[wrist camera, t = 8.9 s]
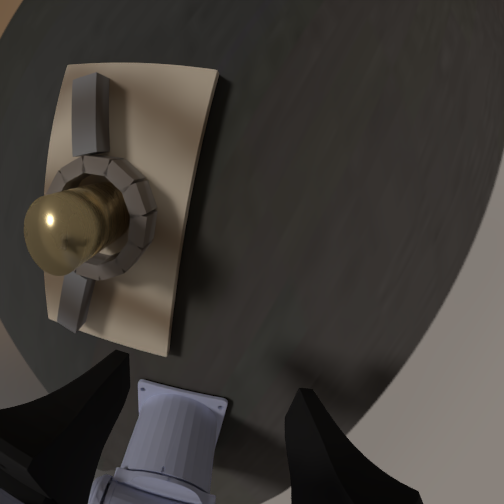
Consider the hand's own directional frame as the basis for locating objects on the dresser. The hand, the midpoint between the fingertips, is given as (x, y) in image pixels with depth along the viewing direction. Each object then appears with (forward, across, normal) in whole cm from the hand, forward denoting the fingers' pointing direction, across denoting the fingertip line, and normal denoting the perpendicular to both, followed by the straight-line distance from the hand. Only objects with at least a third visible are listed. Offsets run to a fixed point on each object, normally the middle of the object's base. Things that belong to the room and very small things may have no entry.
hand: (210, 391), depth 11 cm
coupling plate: (+9, +9, -4) cm, 14 cm away
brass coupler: (+8, +9, -4) cm, 13 cm away
